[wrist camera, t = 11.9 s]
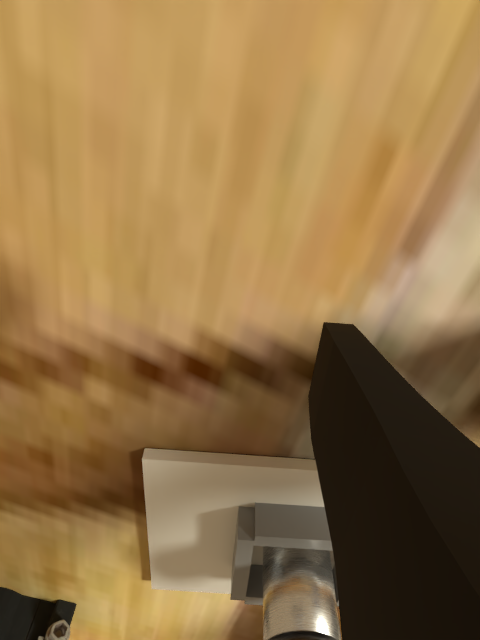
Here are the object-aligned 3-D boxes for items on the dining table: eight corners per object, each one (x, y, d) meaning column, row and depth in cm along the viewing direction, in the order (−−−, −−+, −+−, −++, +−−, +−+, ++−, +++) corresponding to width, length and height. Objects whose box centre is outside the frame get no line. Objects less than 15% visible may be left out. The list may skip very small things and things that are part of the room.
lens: (319, 517, 28) (335, 644, 23) (335, 554, 31) (353, 678, 25) (253, 528, 29) (251, 653, 24) (273, 563, 32) (276, 685, 26)
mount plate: (476, 470, 27) (499, 516, 24) (407, 594, 35) (419, 637, 33) (144, 448, 27) (133, 491, 24) (153, 578, 35) (146, 620, 32)
